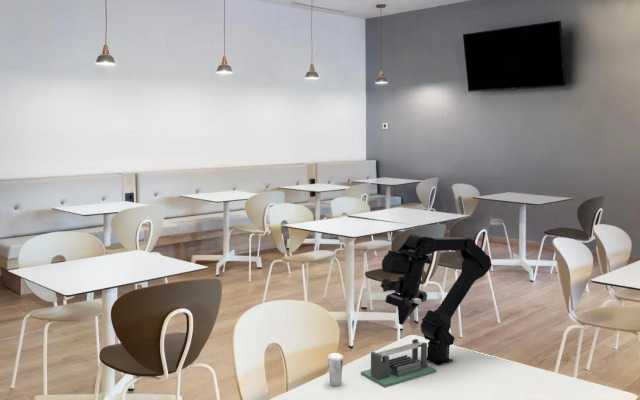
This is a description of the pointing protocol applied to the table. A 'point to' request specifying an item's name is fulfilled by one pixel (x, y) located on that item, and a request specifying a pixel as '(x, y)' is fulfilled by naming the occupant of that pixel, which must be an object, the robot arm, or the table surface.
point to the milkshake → (335, 368)
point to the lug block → (379, 366)
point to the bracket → (423, 354)
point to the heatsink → (403, 366)
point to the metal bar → (399, 349)
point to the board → (396, 380)
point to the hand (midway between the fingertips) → (400, 324)
